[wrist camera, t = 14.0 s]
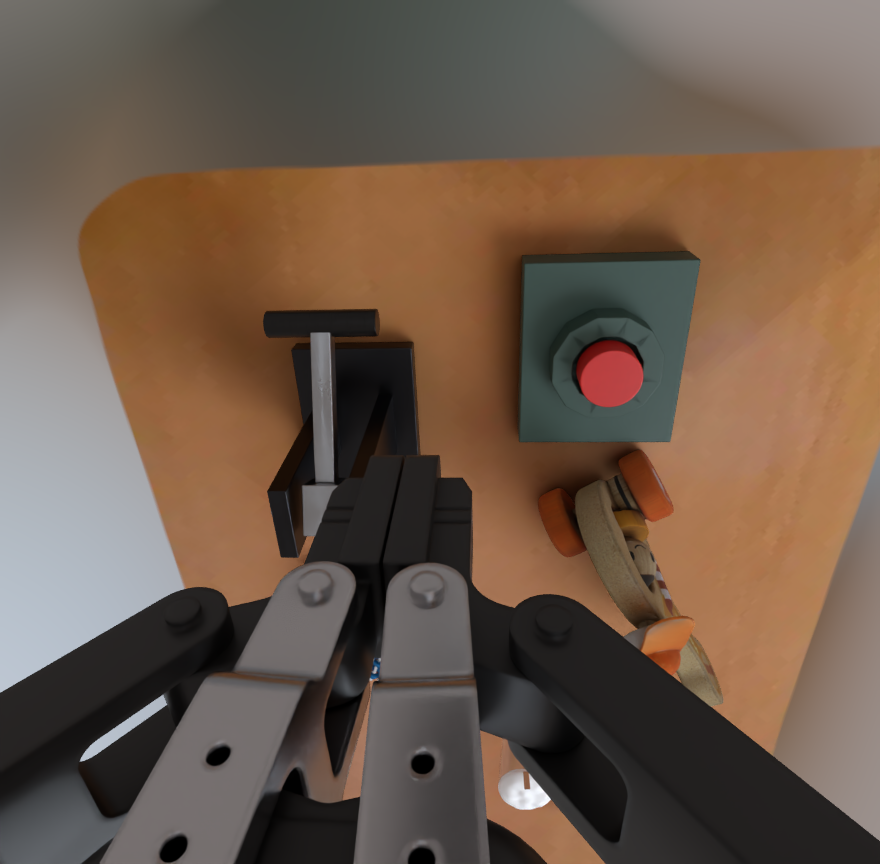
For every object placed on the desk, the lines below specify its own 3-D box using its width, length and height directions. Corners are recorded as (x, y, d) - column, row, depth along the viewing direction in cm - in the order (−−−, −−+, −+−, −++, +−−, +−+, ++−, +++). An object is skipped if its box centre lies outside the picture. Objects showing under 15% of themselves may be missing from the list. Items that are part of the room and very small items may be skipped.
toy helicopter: (629, 424, 42) (687, 554, 30) (736, 614, 50) (816, 777, 38) (526, 474, 45) (541, 613, 33) (643, 648, 53) (690, 811, 41)
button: (578, 340, 36) (582, 350, 34) (640, 339, 36) (647, 350, 34) (573, 395, 38) (577, 408, 36) (633, 394, 37) (639, 407, 36)
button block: (521, 254, 37) (525, 271, 34) (689, 250, 37) (711, 267, 33) (517, 427, 43) (520, 456, 40) (662, 426, 42) (678, 456, 39)
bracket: (295, 343, 41) (225, 435, 30) (413, 341, 40) (386, 435, 29) (317, 479, 46) (264, 601, 35) (422, 480, 46) (402, 604, 35)
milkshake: (545, 680, 55) (557, 790, 47) (545, 719, 58) (555, 829, 49) (495, 680, 56) (498, 788, 47) (497, 718, 58) (499, 828, 50)
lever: (274, 312, 34) (258, 308, 32) (381, 311, 34) (372, 306, 31) (283, 524, 35) (268, 536, 33) (385, 525, 35) (378, 537, 32)
